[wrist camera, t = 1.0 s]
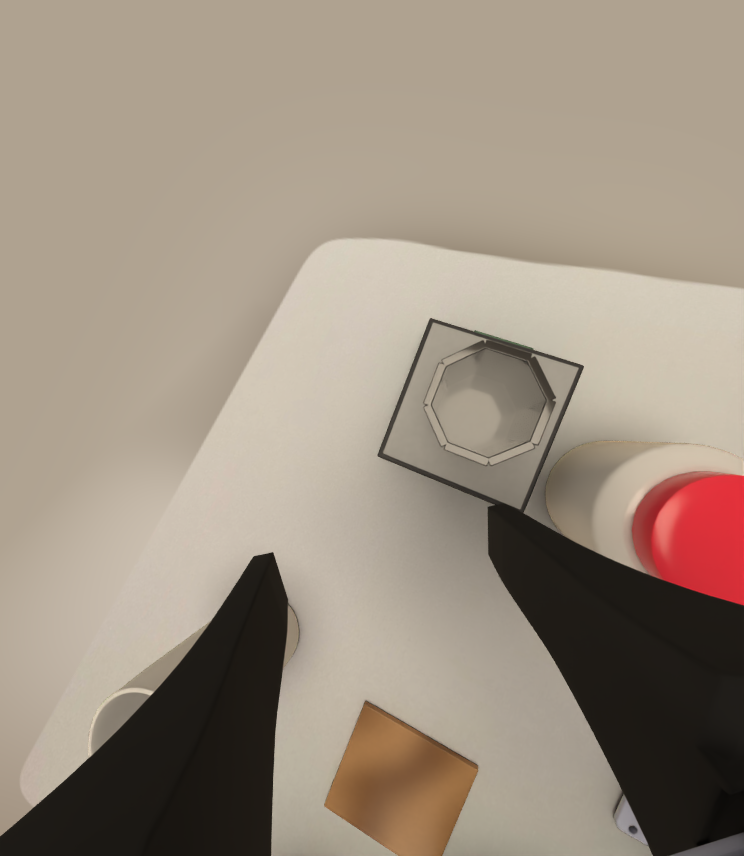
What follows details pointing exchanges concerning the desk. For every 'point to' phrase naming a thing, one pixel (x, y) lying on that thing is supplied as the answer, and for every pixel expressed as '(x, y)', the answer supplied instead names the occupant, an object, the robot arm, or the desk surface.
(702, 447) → the pill bottle
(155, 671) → the mug
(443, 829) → the coaster
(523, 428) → the cup
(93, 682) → the desk surface
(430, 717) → the desk surface
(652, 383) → the desk surface
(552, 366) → the scale
